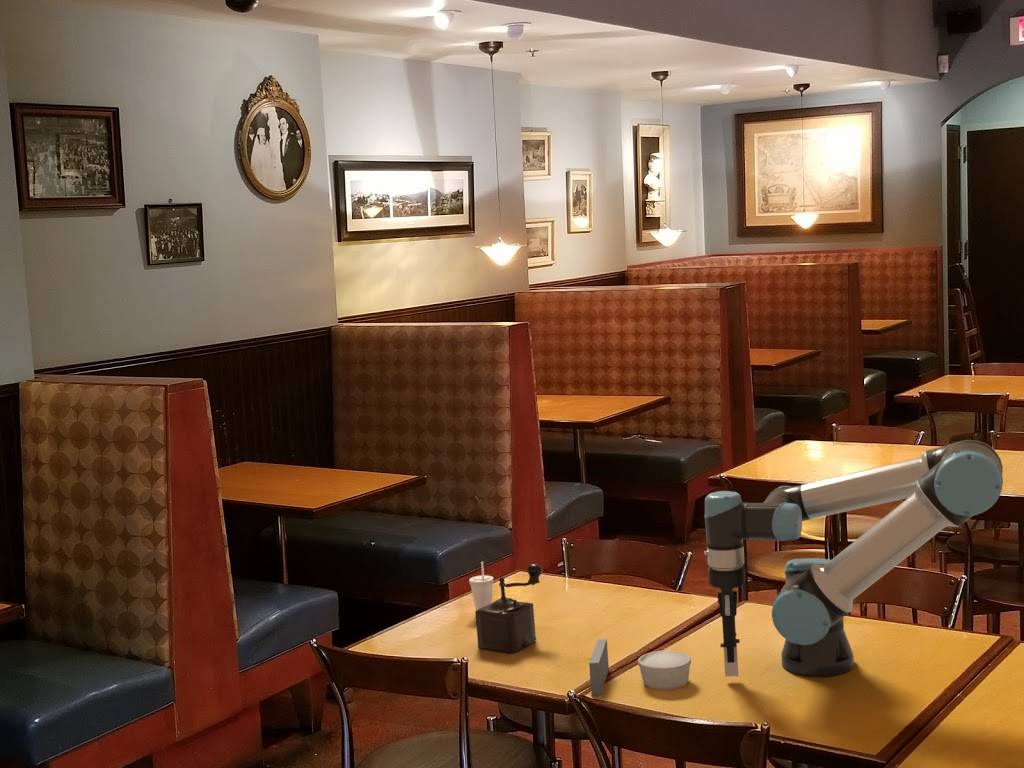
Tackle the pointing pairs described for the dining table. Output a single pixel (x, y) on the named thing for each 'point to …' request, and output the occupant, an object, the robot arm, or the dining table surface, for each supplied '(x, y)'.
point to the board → (599, 667)
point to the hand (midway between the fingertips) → (731, 675)
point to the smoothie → (481, 589)
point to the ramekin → (665, 669)
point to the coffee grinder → (508, 619)
